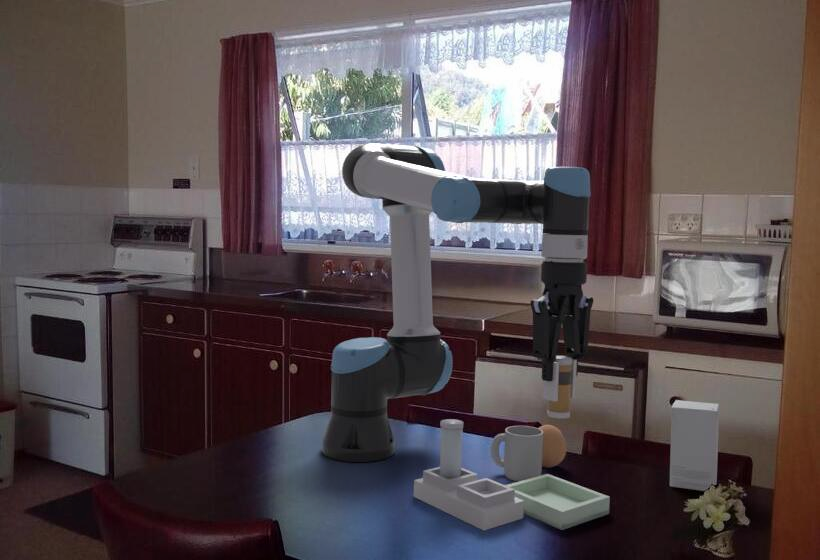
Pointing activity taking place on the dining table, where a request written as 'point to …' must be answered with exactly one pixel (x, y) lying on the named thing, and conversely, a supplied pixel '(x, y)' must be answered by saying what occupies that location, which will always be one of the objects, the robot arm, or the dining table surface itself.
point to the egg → (552, 446)
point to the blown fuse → (562, 390)
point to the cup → (519, 452)
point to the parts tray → (560, 501)
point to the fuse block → (465, 487)
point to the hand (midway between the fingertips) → (558, 397)
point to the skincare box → (694, 445)
